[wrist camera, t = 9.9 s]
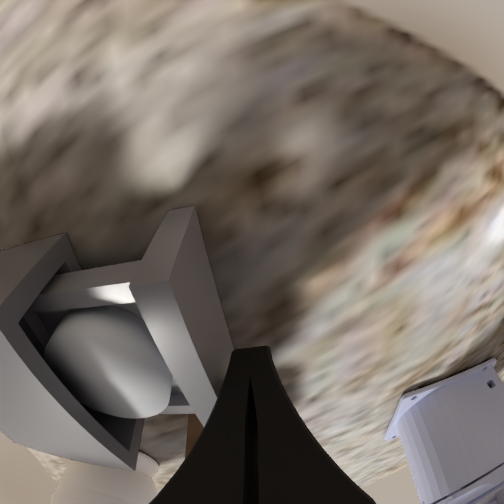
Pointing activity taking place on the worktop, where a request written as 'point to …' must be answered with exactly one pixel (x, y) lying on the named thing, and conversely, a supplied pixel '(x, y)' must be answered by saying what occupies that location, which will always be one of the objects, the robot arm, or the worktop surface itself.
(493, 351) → the worktop surface
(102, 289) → the grey drawer
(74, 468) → the jar
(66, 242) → the block
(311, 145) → the worktop surface
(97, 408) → the white dome cap
